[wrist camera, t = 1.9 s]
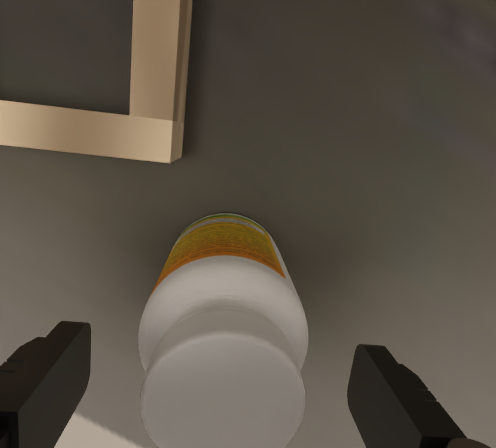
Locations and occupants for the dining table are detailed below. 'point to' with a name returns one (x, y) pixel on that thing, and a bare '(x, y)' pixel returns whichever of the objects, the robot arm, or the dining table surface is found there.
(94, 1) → the dining table surface
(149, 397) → the supplement bottle
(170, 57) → the bottle rack
